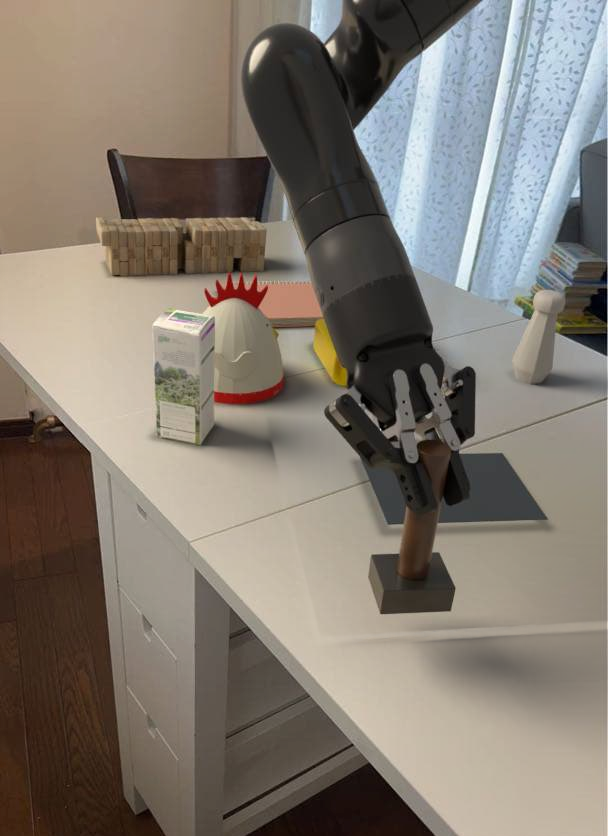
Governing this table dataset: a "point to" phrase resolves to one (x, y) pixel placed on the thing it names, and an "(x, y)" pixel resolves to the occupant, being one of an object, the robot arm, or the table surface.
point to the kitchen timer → (243, 345)
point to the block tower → (182, 245)
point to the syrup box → (184, 375)
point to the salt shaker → (538, 339)
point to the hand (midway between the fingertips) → (443, 507)
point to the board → (489, 493)
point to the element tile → (328, 353)
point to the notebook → (288, 303)
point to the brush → (417, 552)
